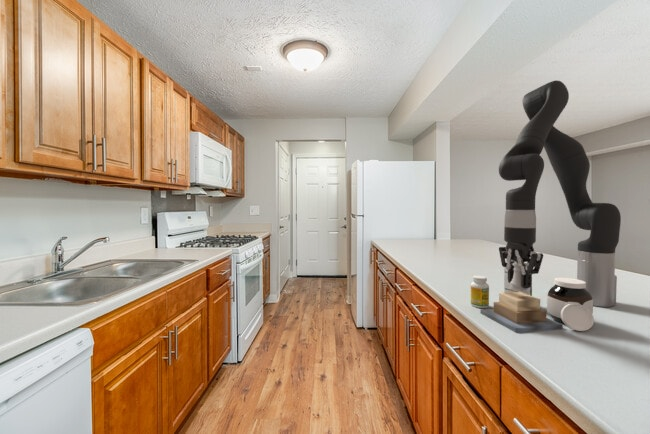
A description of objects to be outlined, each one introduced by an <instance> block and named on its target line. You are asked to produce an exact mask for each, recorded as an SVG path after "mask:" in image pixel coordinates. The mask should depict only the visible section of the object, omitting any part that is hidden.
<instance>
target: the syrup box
mask: <svg viewBox="0 0 650 434" xmlns="http://www.w3.org/2000/svg"><path fill="white" fill-rule="evenodd" d="M505 262H506V263H507V261H506V260H505ZM524 263H527V262H524ZM512 265H513V264H512ZM525 267H526V270H527V266H525ZM510 285H511V284H510V283H509V282H508V270H507V269H506V267H503V293H512V292H522V293H525V294H527V295H530V296H533V275H532V276H531V286H530V288H528V289H527V290H526V291H518V290H513V289H511V288H510Z"/></svg>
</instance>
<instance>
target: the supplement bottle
mask: <svg viewBox="0 0 650 434" xmlns="http://www.w3.org/2000/svg"><path fill="white" fill-rule="evenodd" d="M487 280H488V279H487V277H486V276H483V275H473V276H472V282H471V284H470V305H471V306H472V307H474V308H478V309H487V308H489V305H490V285H489V284H488V283H487Z"/></svg>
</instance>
